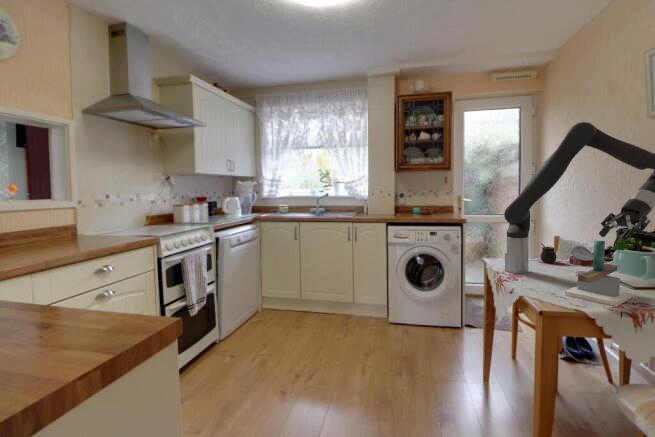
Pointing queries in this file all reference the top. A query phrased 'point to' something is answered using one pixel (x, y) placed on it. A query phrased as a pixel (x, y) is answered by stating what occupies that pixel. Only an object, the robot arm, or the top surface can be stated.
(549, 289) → the top surface
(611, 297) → the ridge stand
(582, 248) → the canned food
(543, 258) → the mate gourd
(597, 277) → the teal peg on base
